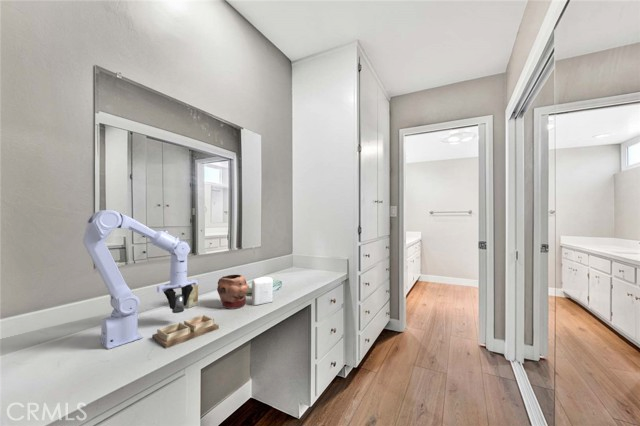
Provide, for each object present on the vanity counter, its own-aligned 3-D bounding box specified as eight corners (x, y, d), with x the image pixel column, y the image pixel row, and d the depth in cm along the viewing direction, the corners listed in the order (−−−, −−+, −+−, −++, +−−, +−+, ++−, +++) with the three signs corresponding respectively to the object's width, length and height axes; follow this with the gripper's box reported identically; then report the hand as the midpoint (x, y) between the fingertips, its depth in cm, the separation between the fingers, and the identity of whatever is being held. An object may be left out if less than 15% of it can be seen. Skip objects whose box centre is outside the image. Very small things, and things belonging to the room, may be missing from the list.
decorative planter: (205, 305, 121) (206, 276, 121) (226, 298, 131) (226, 271, 132) (237, 313, 111) (237, 280, 112) (256, 304, 122) (256, 275, 122)
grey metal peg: (175, 313, 97) (175, 297, 97) (170, 311, 100) (170, 295, 100) (185, 310, 100) (186, 295, 101) (181, 308, 103) (181, 293, 103)
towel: (234, 295, 138) (234, 286, 138) (255, 285, 158) (255, 277, 158) (264, 298, 132) (264, 288, 132) (282, 288, 153) (282, 279, 153)
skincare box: (189, 308, 117) (189, 281, 117) (180, 307, 118) (181, 280, 118) (198, 303, 123) (198, 278, 124) (190, 303, 124) (190, 277, 124)
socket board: (166, 348, 81) (166, 337, 81) (152, 338, 88) (152, 328, 88) (218, 328, 96) (218, 319, 96) (203, 321, 102) (203, 313, 102)
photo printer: (270, 299, 129) (270, 275, 130) (274, 302, 126) (274, 276, 126) (250, 303, 123) (250, 277, 124) (253, 306, 120) (253, 279, 120)
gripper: (163, 276, 92) (162, 314, 92) (202, 270, 104) (201, 304, 104) (154, 273, 96) (154, 310, 96) (193, 268, 108) (192, 300, 108)
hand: (178, 306), depth 100 cm, fingers closed on grey metal peg, 4 cm apart
